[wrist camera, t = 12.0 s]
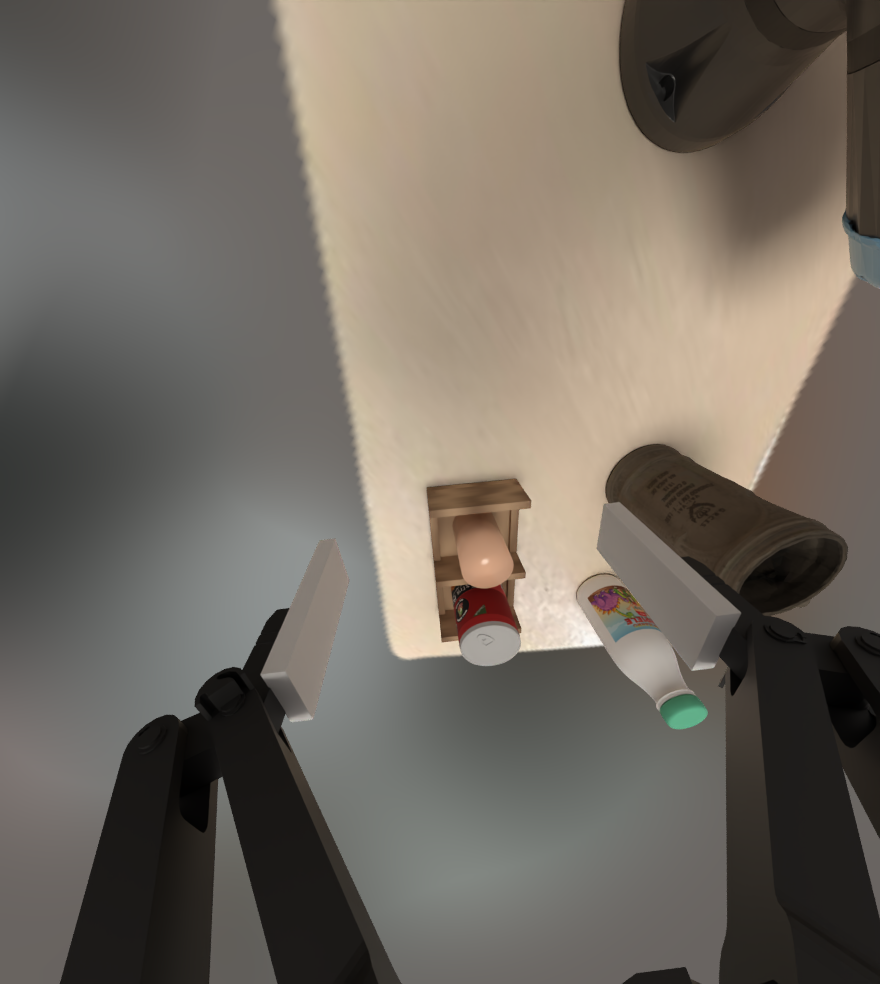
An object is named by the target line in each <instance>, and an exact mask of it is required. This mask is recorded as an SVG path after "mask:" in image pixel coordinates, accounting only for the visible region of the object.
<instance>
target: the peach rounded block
mask: <svg viewBox="0 0 880 984" xmlns="http://www.w3.org/2000/svg"><path fill="white" fill-rule="evenodd" d="M452 528H453V533H454V538H455V543H456V548H457V553H458V558H459V563H460V568H461V572H462V576H463V578H464V580H465V581H466V582H467V583H468V584H469V585H471V586H473V587H477V588H492V587H495V586H498V585H500V584H501V583H503V582H504V581H506V580H507V579H508V578H509V576H510V575H511V573H512V571H513V567H514V563H513V560H512V557H511V555H510V553H509V550H508V548H507V546H506V543H505V541H504V539H503V536H502V534H501V532H500V529H499V527H498V525H497V523H496V520H495V518H494V516H493V514H492V513H491V512H487V513H478V514H468V515H458V516H456V517H455V518H454V520H453V524H452Z"/></svg>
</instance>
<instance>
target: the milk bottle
mask: <svg viewBox="0 0 880 984" xmlns="http://www.w3.org/2000/svg"><path fill="white" fill-rule="evenodd" d="M577 601H578V603H579V605H580V607H581V608H582V610H583V612H584V613H585V615H586V617H587V618H588V620H589V622H590V623H591V625H592V627H593V628H594V630H595V632H596V633H597V635H598V637H599V638H600V640H601V641H602V643H603V645H604V646H605V648H606V650H607V651H608V653H609V654H610V656H611V657H612V659H613V660H614V662H615V663H616V665H617V666H618V667H619V668H620V670H622V672H623V673H624V674H625V675H626V676H627V677H629V678H630V679H631V680H632V681H633V682H635V683H636V684H637V685H639V686H640V687H641V688H642V689H644V690H645V691H646V692H647V693H648V694H649V695H650V696H651V697H652V698H653V700H654V701H655V702H656V707H657V709H658V710H659V711H660V713H661V715H662V717H663V719H664V720H665V721H666V723H667V724H668V725H669V726H670V727H671V728H674V729H685V728H689V727H692V726H695V725H696V724H698V723H700V722H701V721H703V720H704V719H705V718H706V716H707V709H706V708H705V706H704V705H703V703H702V702H701V701H700V699H699V698H698V697H696V695H695V693H694V692H693V691H692V690H689V689H688V687H687V686H686V684H685V682H684V680H683V678H682V675H681V673H680V670H679V666H678V663H677V659H676V656H675V653H674V651H673V648H672V647H671V645H670V643H669V641H668V640H667V638H666V637H665V636H664V635H663V633H662V632H661V631H660V629H659V628H658V627H657V626H656V624H655V623H654V622H653V620H652V619H651V618H650V617H649V615H648V614H647V613H646V611H645V610H644V609H643V608H642V606H641V605H640V604H639V603H638V602H637V600H636V599H635V598H634V597H633V595H632V594H631V593H630V592H629V591H628V589H627V588H626V587H625V586H624V584H623V583H622V582H621V581H620V580H619V579H618V578H616V577H614V576H612V575H607V574H603V575H597V576H594V577H592V578H590V579H588V580H587V581H585V582H584V583H583V584H582V585H581V586H580V587H579V589H578V592H577Z"/></svg>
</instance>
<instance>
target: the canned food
mask: <svg viewBox="0 0 880 984" xmlns="http://www.w3.org/2000/svg"><path fill="white" fill-rule="evenodd" d="M451 593H452V600H453V607H454V613H455V620H456V627H457V634H458V640H459V646H460V649H461V653H462V655H463V657H464V658H465V659H466V660H467V661H469V662H471V663H473V664H476V665H481V666H493V665H498V664H501V663H504V662H506V661H508V660H510V659H511V658H512V657H514V656H515V655H516V654H517V652H518V651H519V649H520V646H521V640H520V635H519V632H518V629H517V626H516V623H515V620H514V617H513V615H512V612H511V609H510V606H509V603H508V601H507V598H506V595H505V592H504V589H503V587H502V584H500V585H498V586H495V587H492V588H477V587H473V586H471V585H469V584H467V585H458V586H451Z"/></svg>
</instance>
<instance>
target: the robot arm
mask: <svg viewBox="0 0 880 984" xmlns="http://www.w3.org/2000/svg"><path fill="white" fill-rule="evenodd" d="M845 31H847V169H846V210H845V213H844V215H843V217H842V223H843V228H844V230H845V232H846V233H847V234H848V239H849V252H850V264H851V268H852V270H853V272H854V274H855V275H856V276H857V277H858V278H859V279H861V280H864V281H866V282H868V283H870V284H871V285H872V286H874V287H876V288H879V289H880V0H626V2H625V7H624V13H623V20H622V28H621V41H620V63H621V75H622V82H623V87H624V92H625V96H626V100H627V103H628V106H629V109H630V111H631V113H632V115H633V118H634V119H635V121H636V123H637V125H638V126H639V128H640V129H641V130H642V132H643V133H644V134H645V135H646V136H647V137H648V138H649V139H650V140H651V141H653V142H654V143H655V144H657V145H658V146H660V147H662V148H664V149H667V150H670V151H674V152H694V151H699V150H702V149H706V148H708V147H711V146H713V145H715V144H717V143H719V142H721V141H722V140H724V139H726V138H727V137H729V136H731V135H733V134H734V133H736V132H738V131H739V130H741V129H743V128H744V127H746V126H747V125H749V124H750V123H751V122H753V121H754V120H755V119H757V118H758V117H759V116H760V115H762V114H763V113H764V112H765V111H766V110H767V109H768V108H769V107H770V106H772V105H773V104H774V103H775V102H776V100H777V99H778V98H779V97H780V96H781V95H782V94H783V93H784V92H785V90H786V89H787V88H788V87H789V86H790V85H791V84H792V83H793V81H794V80H795V79H796V78H797V77H798V76H799V75H800V74H801V73H802V72H804V71H805V70H806V68H807V67H808V66H809V65H810V64H811V63H812V62H813V61H814V60H815V59H816V58H817V57H818V56H819V55H820V54H821V53H822V52H823V51H824V50H825V49H826V48H827V47H828V46H829V45H830V44H831V43H832V42H833V41H834V40H835V39H836V38H837V37H838V36H839V35H841V34H842V33H844V32H845ZM597 550H598V551H599V552H600V554H601V555H602V556H603V557H604V559H605V560H606V561H607V563H608V564H609V565H610V566H611V568H612V569H613V570H614V572H615V573H616V574H617V575H618V577H619V578H620V579H621V581H622V582H623V583H624V584H625V586H626V587H627V588H628V590H629V591H630V592H631V593H632V595H633V596H634V597H635V599H636V600H637V601H638V602H639V604H640V605H641V606H642V608H643V609H644V610H645V611H646V613H647V614H648V615H649V617H650V618H651V619H652V620H653V622H654V623H655V624H656V626H657V627H658V628H659V629H660V631H661V632H662V633H663V635H664V636H665V637H666V638H667V640H668V641H669V642H670V643H671V644H672V646H673V647H674V649H675V650H676V651H677V652H678V654H679V655H680V656H681V657H682V659H683V660H684V661H685V663H686V664H687V665H688V667H689V668H690V669H691V670H692V671H694V670H701V669H709V668H714V666H715V664H716V662H717V660H718V658H719V657H720V658H721V659H722V660H723V661H724V662H725V663H726V664H727V666H728V667H727V669H726V671H725V673H724V675H723V677H722V679H721V680H720V683H719V687H721V688H723V686H724V684H725V685H726V686H725V687H726V688H725V691H726V814H727V815H726V822H727V824H726V825H727V930H726V936H725V940H724V943H723V947H722V951H721V958H720V970H719V984H880V918H879V914H878V910H877V906H876V902H875V898H874V894H873V890H872V885H871V881H870V877H869V873H868V870H867V865H866V862H865V857H864V853H863V849H862V845H861V841H860V837H859V833H858V829H857V824H856V821H855V816H854V813H853V808H852V804H851V800H850V796H849V792H848V788H847V784H846V780H845V776H844V772H843V769H844V771H845V773H846V775H847V777H848V779H849V781H850V783H851V785H852V787H853V788H854V790H855V792H856V794H857V796H858V798H859V800H860V802H861V804H862V805H863V808H864V810H865V812H866V813H867V815H868V817H869V819H870V821H871V823H872V825H873V827H874V829H875V831H876V833H877V835H878V836H879V838H880V634H878V633H876V632H874V631H871V630H868V629H864V628H860V627H851V626H847V627H844V628H841V629H840V630H839V632H838V633H837V634H836V636H835V637H833V636H826V635H818V634H811V633H804V632H803V631H802V630H800V629H799V628H797V627H796V626H794V625H793V624H791V623H789V622H786V621H784V620H782V619H779V618H775V617H771V616H764V615H763V614H762V613H760V612H759V611H758V610H757V609H756V608H755V607H753V606H752V605H751V604H750V603H749V602H748V601H746V600H745V599H744V598H743V597H742V596H741V595H739V594H738V593H737V592H736V591H735V590H734V589H732V588H731V587H730V586H729V585H728V584H725V582H724V581H723V580H722V579H721V578H720V577H718V576H716V574H715V573H714V572H713V571H711V570H710V569H709V568H708V567H707V566H706V565H704V564H703V563H701V562H699V561H697V560H695V559H693V558H691V557H689V556H687V557H679V556H678V555H677V554H676V553H675V552H674V551H673V550H672V549H671V548H669V547H668V546H667V545H666V544H665V543H664V542H663V541H662V540H661V539H660V538H658V537H657V536H656V535H655V534H654V533H653V532H652V531H651V530H650V529H649V528H647V527H646V526H645V525H644V524H643V523H642V522H641V521H640V520H639V519H638V518H636V517H635V516H634V515H633V514H632V513H631V512H630V511H629V510H628V509H627V508H625V507H624V506H623V505H622V504H621V503H620V502H616V503H608V504H604V506H603V512H602V518H601V525H600V531H599V537H598V543H597ZM348 583H349V578H348V575H347V572H346V569H345V566H344V563H343V560H342V557H341V554H340V551H339V548H338V545H337V542H336V539H327V540H320V541H319V543H318V545H317V547H316V550H315V552H314V554H313V556H312V559H311V561H310V563H309V565H308V568H307V570H306V572H305V575H304V577H303V579H302V582H301V584H300V586H299V589H298V590H297V593H296V595H295V597H294V599H293V602H292V604H291V606H290V608H287V609H279V610H276V611H275V613H274V614H273V615H272V616H271V617H270V618H269V619H268V620H267V622H266V624H265V626H264V628H263V630H262V632H261V635H260V636H259V638H258V640H257V642H256V646H254V648H253V650H252V652H251V654H250V656H249V658H248V660H247V662H246V664H245V666H244V668H243V670H241V668H236V667H232V668H227V669H224V670H222V671H220V672H218V673H216V674H215V675H213V676H212V677H211V678H210V679H208V680H207V681H206V682H205V684H204V685H203V686H202V687H201V688H200V689H199V691H198V694H197V696H196V698H195V707H196V708H197V710H198V711H199V712H200V713H198V714H196V715H194V716H191V717H189V718H187V719H184V720H182V721H180V720H179V719H178V718H177V717H176V716H174V715H164V716H162V717H159V718H156V719H155V720H153V721H152V722H150V723H148V724H147V725H145V726H144V727H143V728H142V729H141V730H140V731H139V732H138V733H137V734H136V735H135V736H134V737H133V738H132V740H131V741H130V742H129V744H128V745H127V747H126V749H125V752H124V754H123V757H122V761H121V764H120V768H119V771H118V775H117V779H116V783H115V786H114V790H113V793H112V797H111V800H110V804H109V808H108V812H107V815H106V819H105V822H104V826H103V829H102V833H101V837H100V840H99V844H98V848H97V851H96V855H95V859H94V862H93V866H92V869H91V873H90V876H89V880H88V884H87V888H86V891H85V895H84V898H83V902H82V906H81V909H80V913H79V916H78V920H77V924H76V927H75V931H74V934H73V938H72V942H71V945H70V949H69V953H68V957H67V960H66V963H65V967H64V971H63V975H62V979H61V981H60V984H209V974H210V952H211V929H212V906H213V883H214V882H213V881H214V860H215V838H216V813H217V792H218V779H219V778H221V777H223V780H224V784H225V787H226V791H227V795H228V798H229V803H230V806H231V810H232V814H233V817H234V821H235V825H236V829H237V833H238V837H239V840H240V844H241V848H242V851H243V855H244V859H245V863H246V867H247V870H248V874H249V878H250V882H251V886H252V889H253V893H254V896H255V901H256V904H257V908H258V912H259V916H260V919H261V923H262V927H263V931H264V935H265V938H266V942H267V946H268V950H269V953H270V956H271V961H272V965H273V968H274V972H275V976H276V980H277V983H278V984H401V982H400V980H399V978H398V976H397V975H396V972H395V971H394V968H393V967H392V964H391V962H390V960H389V958H388V956H387V953H386V951H385V949H384V947H383V945H382V943H381V941H380V938H379V936H378V934H377V932H376V930H375V927H374V925H373V923H372V921H371V919H370V917H369V914H368V912H367V910H366V908H365V906H364V904H363V901H362V899H361V897H360V895H359V893H358V891H357V889H356V886H355V884H354V882H353V880H352V878H351V875H350V874H349V871H348V869H347V867H346V865H345V863H344V860H343V858H342V856H341V854H340V852H339V850H338V847H337V845H336V843H335V841H334V839H333V836H332V834H331V832H330V830H329V828H328V826H327V823H326V821H325V819H324V817H323V815H322V813H321V810H320V809H319V806H318V804H317V802H316V800H315V797H314V795H313V793H312V791H311V789H310V787H309V784H308V782H307V780H306V778H305V776H304V774H303V772H302V769H301V767H300V765H299V763H298V761H297V758H296V756H295V754H294V752H293V750H292V748H291V745H290V743H289V741H288V739H287V737H286V735H285V733H284V730H283V729H282V727H281V725H282V722H283V719H284V716H285V714H286V715H287V717H288V718H289V720H290V721H291V722H297V721H305V720H313V718H314V714H315V710H316V706H317V703H318V699H319V695H320V691H321V687H322V683H323V680H324V675H325V672H326V668H327V664H328V660H329V656H330V652H331V649H332V644H333V641H334V637H335V633H336V629H337V625H338V622H339V618H340V614H341V610H342V606H343V603H344V599H345V595H346V591H347V587H348ZM842 767H843V768H842ZM623 984H700V983H698V982H696V981H694V980H692V979H690V977H689V974H688V972H687V969H686V968H685V967H682V968H674V969H666V970H659V971H651V972H644V973H636V974H635V975H633V976H632V977H631V978H629V979H628V980H626V981H625V982H624V983H623Z"/></svg>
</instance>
